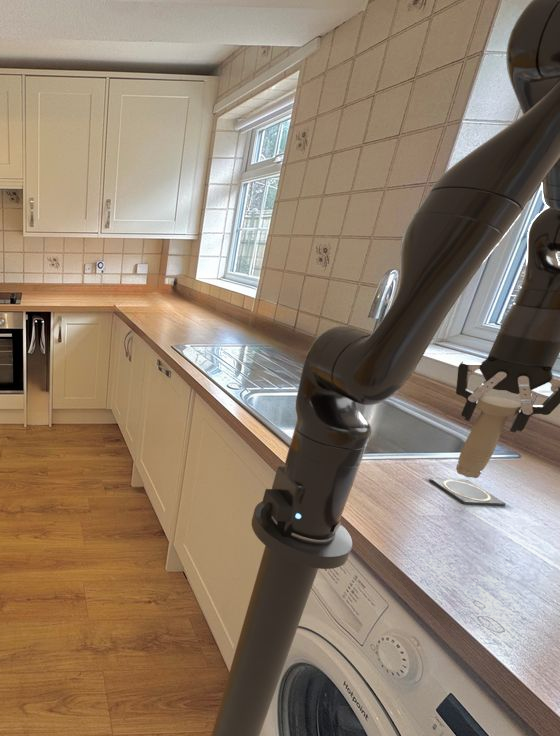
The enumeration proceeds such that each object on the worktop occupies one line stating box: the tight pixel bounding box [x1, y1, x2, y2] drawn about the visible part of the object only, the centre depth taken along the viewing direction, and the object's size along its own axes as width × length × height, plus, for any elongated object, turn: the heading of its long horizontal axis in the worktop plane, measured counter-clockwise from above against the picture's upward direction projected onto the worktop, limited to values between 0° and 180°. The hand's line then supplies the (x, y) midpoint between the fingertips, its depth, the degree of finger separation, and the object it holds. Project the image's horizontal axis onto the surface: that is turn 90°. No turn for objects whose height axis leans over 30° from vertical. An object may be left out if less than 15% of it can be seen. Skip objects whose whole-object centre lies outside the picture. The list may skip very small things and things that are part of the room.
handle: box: [455, 395, 522, 479], centre depth 75 cm, size 5×6×15 cm
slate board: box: [429, 478, 506, 507], centre depth 78 cm, size 8×8×1 cm
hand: (489, 425), depth 74 cm, fingers closed on handle, 5 cm apart
